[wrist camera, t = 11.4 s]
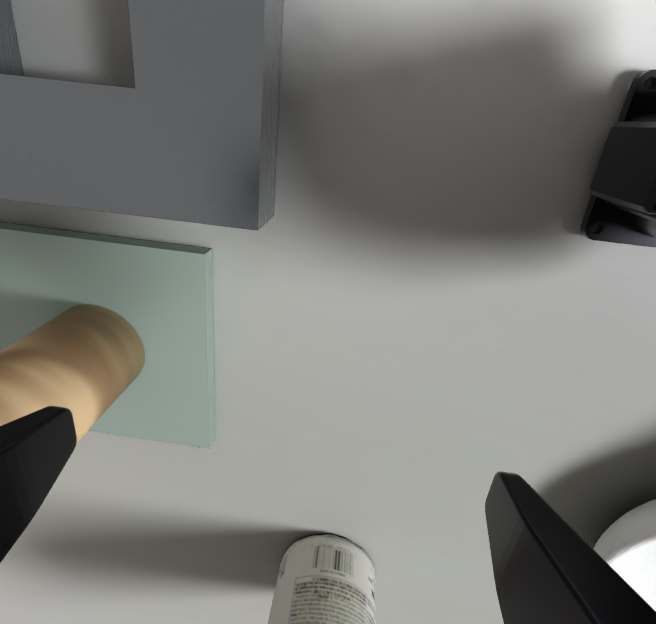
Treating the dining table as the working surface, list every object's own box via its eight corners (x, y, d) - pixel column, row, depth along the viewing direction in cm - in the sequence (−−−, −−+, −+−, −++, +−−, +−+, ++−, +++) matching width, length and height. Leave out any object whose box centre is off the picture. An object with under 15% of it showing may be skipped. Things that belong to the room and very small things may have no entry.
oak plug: (140, 311, 22) (-7, 432, 13) (148, 391, 24) (25, 541, 15) (46, 298, 22) (-159, 411, 13) (62, 379, 24) (-106, 521, 15)
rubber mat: (212, 248, 21) (204, 254, 20) (215, 437, 26) (209, 448, 25) (-20, 219, 21) (-37, 224, 20) (28, 409, 26) (16, 420, 26)
